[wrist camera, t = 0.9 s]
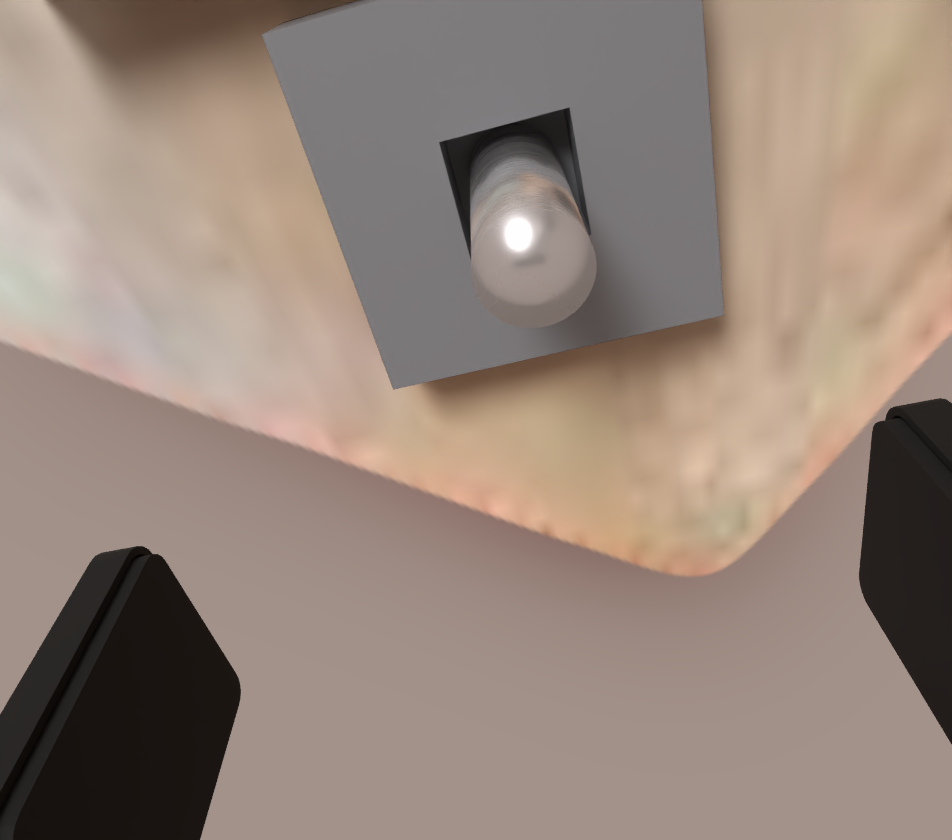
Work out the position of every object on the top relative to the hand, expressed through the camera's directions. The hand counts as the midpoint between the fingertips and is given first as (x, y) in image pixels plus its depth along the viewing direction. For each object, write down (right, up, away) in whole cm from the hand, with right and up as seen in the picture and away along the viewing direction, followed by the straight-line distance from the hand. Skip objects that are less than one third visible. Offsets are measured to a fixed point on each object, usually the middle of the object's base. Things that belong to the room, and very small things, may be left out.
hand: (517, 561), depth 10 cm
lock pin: (+1, +10, +15) cm, 19 cm away
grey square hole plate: (+1, +11, +16) cm, 19 cm away
